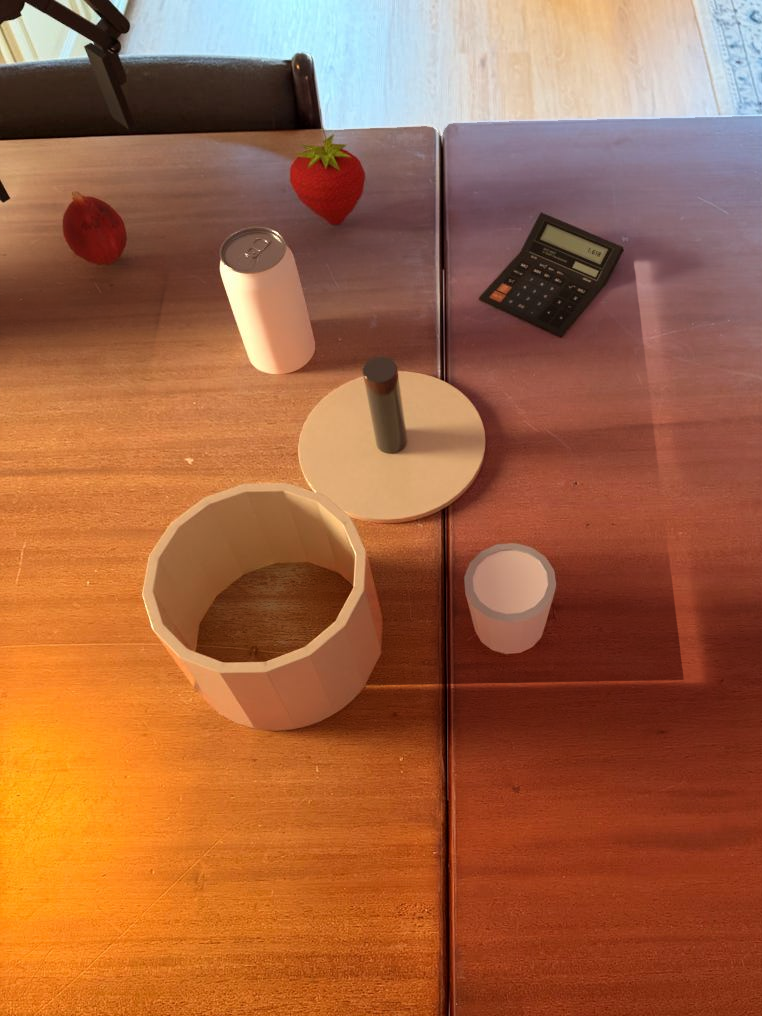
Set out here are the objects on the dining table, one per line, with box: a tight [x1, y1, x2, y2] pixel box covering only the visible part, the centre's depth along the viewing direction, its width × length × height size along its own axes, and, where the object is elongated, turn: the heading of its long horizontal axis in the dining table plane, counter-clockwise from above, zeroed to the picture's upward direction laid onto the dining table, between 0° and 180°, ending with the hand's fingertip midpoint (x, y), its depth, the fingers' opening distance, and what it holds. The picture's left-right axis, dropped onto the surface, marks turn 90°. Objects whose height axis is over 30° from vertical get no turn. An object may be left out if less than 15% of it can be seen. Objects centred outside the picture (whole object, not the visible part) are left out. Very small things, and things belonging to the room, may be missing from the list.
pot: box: [141, 482, 384, 732], centre depth 70 cm, size 16×16×10 cm
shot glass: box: [463, 542, 557, 655], centre depth 72 cm, size 7×7×7 cm
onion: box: [62, 190, 128, 266], centre depth 92 cm, size 6×6×8 cm
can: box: [219, 225, 316, 375], centre depth 84 cm, size 6×6×12 cm
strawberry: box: [289, 126, 366, 226], centre depth 93 cm, size 6×8×10 cm
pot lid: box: [297, 356, 487, 524], centre depth 79 cm, size 17×17×10 cm
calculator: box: [478, 211, 625, 339], centre depth 91 cm, size 9×12×3 cm
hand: (63, 157), depth 85 cm, fingers open, 13 cm apart
